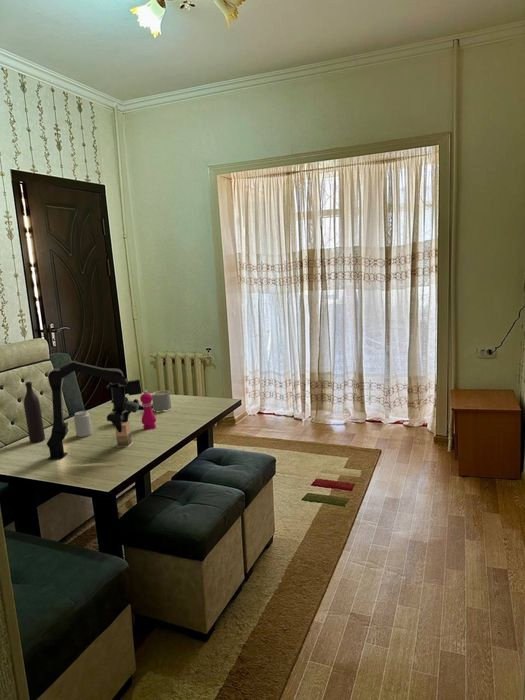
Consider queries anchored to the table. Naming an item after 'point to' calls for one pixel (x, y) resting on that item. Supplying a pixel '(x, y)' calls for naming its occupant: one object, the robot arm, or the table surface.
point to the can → (82, 424)
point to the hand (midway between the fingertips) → (123, 429)
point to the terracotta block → (124, 429)
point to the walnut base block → (124, 440)
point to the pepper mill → (147, 411)
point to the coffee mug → (161, 400)
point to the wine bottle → (33, 415)
